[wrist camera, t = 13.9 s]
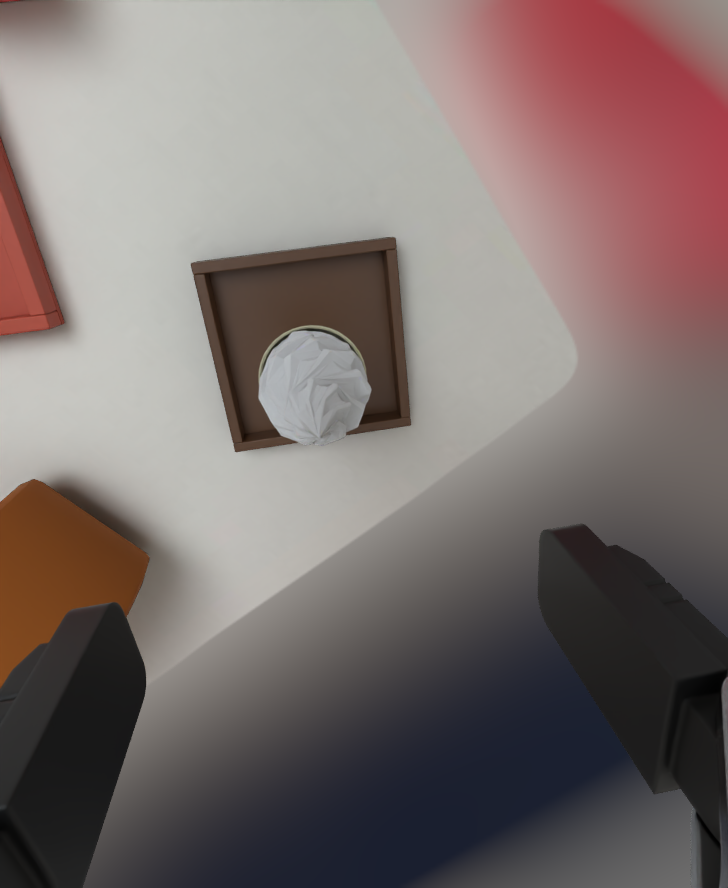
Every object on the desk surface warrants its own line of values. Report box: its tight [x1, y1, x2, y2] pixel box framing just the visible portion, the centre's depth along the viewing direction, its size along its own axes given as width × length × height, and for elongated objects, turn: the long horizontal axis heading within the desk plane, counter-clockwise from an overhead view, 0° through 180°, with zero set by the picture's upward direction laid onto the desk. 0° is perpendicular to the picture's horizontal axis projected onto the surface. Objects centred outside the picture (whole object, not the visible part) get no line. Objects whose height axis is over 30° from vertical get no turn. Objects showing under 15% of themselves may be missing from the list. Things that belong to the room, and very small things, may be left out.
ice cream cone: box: [258, 325, 372, 446], centre depth 24 cm, size 5×5×15 cm
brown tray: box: [191, 237, 411, 452], centre depth 30 cm, size 11×11×2 cm
